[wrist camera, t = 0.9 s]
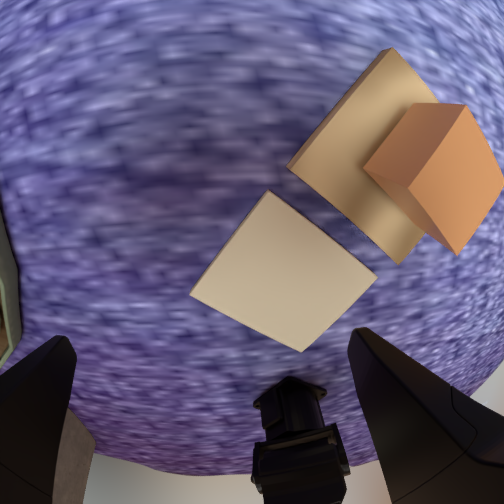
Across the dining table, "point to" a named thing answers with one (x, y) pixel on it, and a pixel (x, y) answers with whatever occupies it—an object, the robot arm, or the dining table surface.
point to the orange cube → (439, 171)
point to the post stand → (365, 151)
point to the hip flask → (73, 461)
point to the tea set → (8, 299)
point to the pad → (282, 275)
